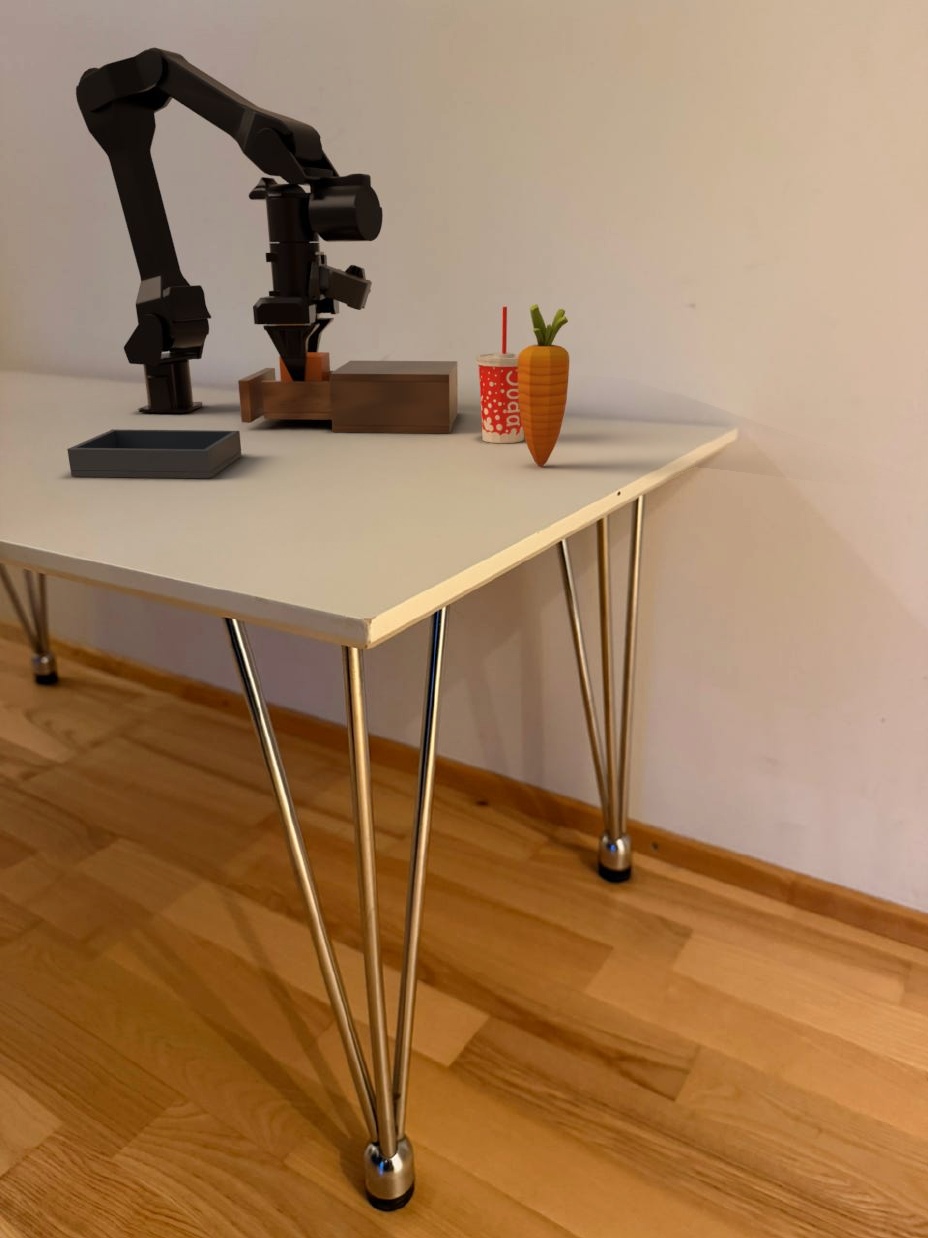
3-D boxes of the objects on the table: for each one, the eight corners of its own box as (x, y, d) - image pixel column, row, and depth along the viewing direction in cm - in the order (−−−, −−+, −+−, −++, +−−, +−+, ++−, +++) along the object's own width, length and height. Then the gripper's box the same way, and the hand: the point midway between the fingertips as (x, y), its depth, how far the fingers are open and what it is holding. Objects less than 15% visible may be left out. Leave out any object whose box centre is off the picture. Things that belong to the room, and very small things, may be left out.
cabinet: (332, 432, 110) (329, 373, 107) (352, 413, 122) (350, 360, 120) (449, 433, 109) (449, 374, 106) (457, 414, 121) (457, 361, 119)
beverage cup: (482, 445, 102) (483, 308, 97) (470, 435, 108) (470, 305, 103) (537, 443, 103) (540, 307, 98) (522, 433, 109) (525, 304, 104)
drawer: (231, 422, 110) (227, 380, 109) (259, 406, 122) (256, 367, 120) (347, 423, 110) (346, 381, 108) (365, 406, 121) (363, 368, 119)
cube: (292, 401, 118) (288, 351, 116) (331, 402, 118) (329, 352, 116) (282, 408, 113) (278, 356, 111) (323, 408, 113) (321, 356, 111)
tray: (115, 454, 98) (112, 429, 97) (241, 456, 97) (239, 430, 96) (71, 476, 88) (66, 448, 87) (210, 478, 87) (208, 450, 86)
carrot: (558, 460, 95) (564, 302, 89) (572, 470, 90) (579, 305, 85) (510, 462, 94) (512, 302, 89) (521, 472, 90) (525, 305, 84)
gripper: (350, 241, 100) (358, 392, 105) (376, 241, 117) (381, 371, 123) (245, 242, 100) (259, 393, 106) (287, 243, 118) (296, 372, 123)
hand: (304, 381), depth 115 cm, fingers closed on cube, 5 cm apart
